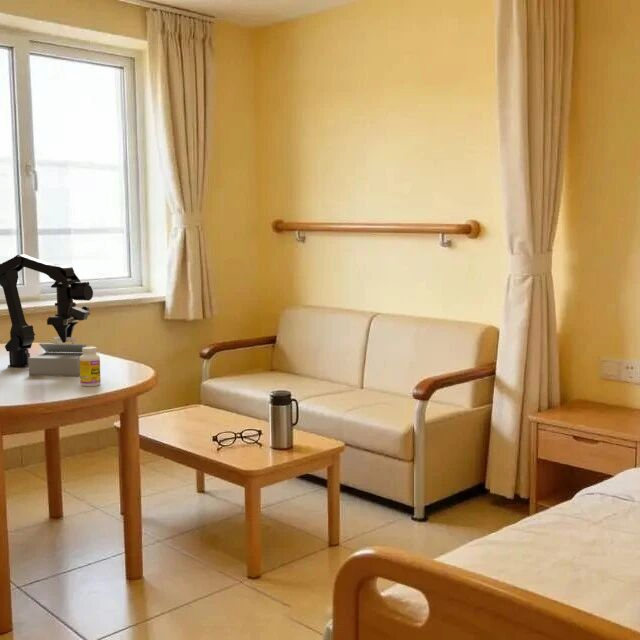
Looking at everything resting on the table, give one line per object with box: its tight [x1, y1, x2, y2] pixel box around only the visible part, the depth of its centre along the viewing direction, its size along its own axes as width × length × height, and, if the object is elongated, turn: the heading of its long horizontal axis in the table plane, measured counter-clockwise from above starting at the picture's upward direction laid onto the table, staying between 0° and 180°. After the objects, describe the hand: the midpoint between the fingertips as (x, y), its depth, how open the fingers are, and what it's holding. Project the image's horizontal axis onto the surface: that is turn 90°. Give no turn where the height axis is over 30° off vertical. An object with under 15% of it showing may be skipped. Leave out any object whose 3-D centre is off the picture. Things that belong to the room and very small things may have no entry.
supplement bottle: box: [79, 346, 101, 388], centre depth 263 cm, size 7×7×13 cm
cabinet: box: [28, 351, 83, 377], centre depth 285 cm, size 18×14×6 cm
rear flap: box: [38, 336, 88, 353], centre depth 289 cm, size 18×7×4 cm
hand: (66, 341), depth 289 cm, fingers open, 3 cm apart
